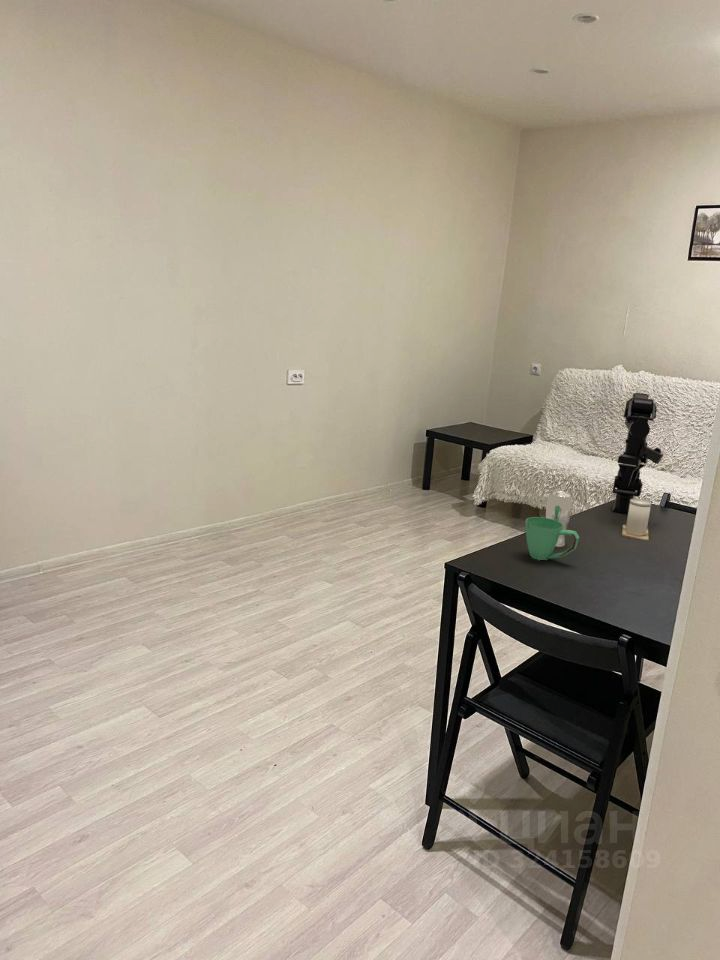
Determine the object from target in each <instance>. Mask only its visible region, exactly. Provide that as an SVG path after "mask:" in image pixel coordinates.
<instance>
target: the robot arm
mask: <svg viewBox="0 0 720 960" xmlns="http://www.w3.org/2000/svg"><path fill="white" fill-rule="evenodd" d="M654 401H655V400H654V399H653V398H649V394H648V393H643V392H634V393H633V394H632V397H631V398H630V399H628V400H627V401H626V402H625V407H624V411H623V412H624V413H623V418H624V425H625V426H626V429H627V436H626V439H625V441H624V442H625V443H624V444H625V449H624V451H623V454H621V455H619V456H618V457H617V458H618V459H617V465H618V467H619V468H618V472H617V474H616V475H615V476H614V480H613V485H612V494H615V500H614V505H612V512H616V513H622V514H627V515H628V512H629V506H630V500H631V499H635V498H634V497H641V493H642V488H643V485H644V484H643V483H642V482H643V481H642V479H641V478H640V477H641V469H642V468H644V467H645V466H646V465H647V464H648V460H649V461H650V462H652V463H654V464H656V465H658V464H660V462H661V460H662V459H663V456H664V454H663V453H662V449H661V448H659V447H655V448H652V447H648V442H647V437H648V436H649V434H650V431H651V428H650V427H651V426H650V424H649V422H650V421H651V422H653V421H655V420H656V418H657V411H658V410H657V409H658V406H657V404H656V403H655V402H654Z"/></svg>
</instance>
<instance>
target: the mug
mask: <svg viewBox="0 0 720 960" xmlns="http://www.w3.org/2000/svg"><path fill="white" fill-rule="evenodd" d="M524 523H525V525H524V526H525V534H526V535H525V536H526V537H525V538H526V543H527V544H526V545H527V549H528V553H529V557H530V556H531V557H532V558H531V557H530V558H531V559H533V558H534V559H533V560H535V559H537V560H536V561H540V560H546V561H548V560H551V559H556V558H562V557H565V556H566V555H569V554H570V553H572V552H574V550H576V549H577V545H578V543H579V540H580V536H579V534H578V532H577V531H576V530H572V529H571V530H570V529H566V530H562V528H563V525H562V523H560V522H559V521H556V520H553V519H549V518H546V517H542V516H541V517H540V516H533V517H531V516H530V517H527V518H526V519H525V522H524ZM560 535H565V536H571V537H573V539H574V540H573V544H572V545H571V546H570V547H568V548H567V549H566V550H564V551H562V552H557V553H553V552H554V550H555V548H556V547H555V546H556V544H557V541H558V538H559V536H560Z"/></svg>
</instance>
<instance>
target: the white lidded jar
mask: <svg viewBox="0 0 720 960" xmlns="http://www.w3.org/2000/svg"><path fill="white" fill-rule="evenodd" d="M651 507H652V502H651V501H650V500H647V499H644V498H643V499H642V498H633V499H631V500H630V506H629V512H628V514H627V519H626V524H625V525H626V529H625V531H626V532H627V533H629V534H632V535H638V536H643V535H646V530H647V528H648V523H649V519H650V513H651Z"/></svg>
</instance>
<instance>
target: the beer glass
mask: <svg viewBox="0 0 720 960" xmlns="http://www.w3.org/2000/svg"><path fill="white" fill-rule="evenodd" d="M573 496H574V495H573V494H572V493H570V492H567V491H563V490H551V491H549V492H548V498H547V501H546V502H547V503H546V507H545V518H549V519H553V520H556V521H559V522H560V523H562V525H563V528H562V530H567V528H568V524H569V521H570V517H571V514H572V511H573V510H572V508H573ZM565 537H566V535H560V536H559V538H558V541H557V544H556V546H555V548H563V547H565V545H566V543H565V542H566V541H565V540H566V538H565Z"/></svg>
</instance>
